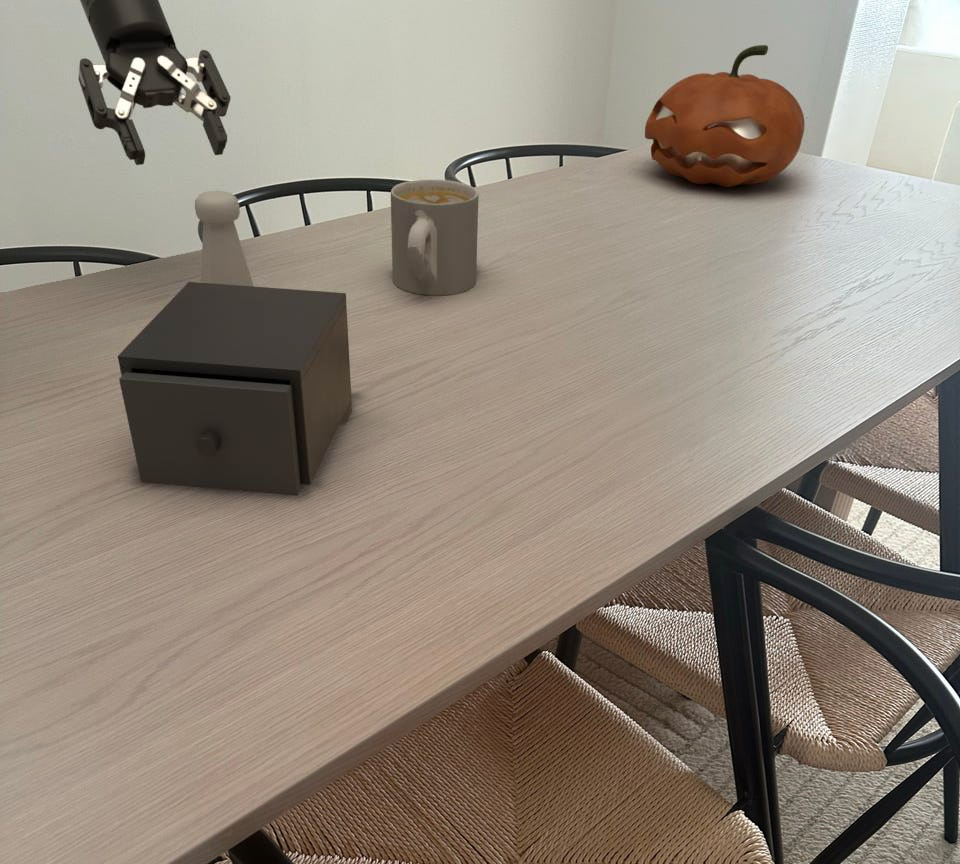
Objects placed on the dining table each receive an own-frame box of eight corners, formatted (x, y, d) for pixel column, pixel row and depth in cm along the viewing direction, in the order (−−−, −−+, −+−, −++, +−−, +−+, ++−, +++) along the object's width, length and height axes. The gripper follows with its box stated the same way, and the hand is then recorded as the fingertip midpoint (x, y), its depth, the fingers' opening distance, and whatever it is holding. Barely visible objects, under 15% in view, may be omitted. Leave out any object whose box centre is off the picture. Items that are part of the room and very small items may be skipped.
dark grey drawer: (293, 505, 76) (282, 399, 71) (135, 492, 77) (111, 385, 71) (338, 413, 88) (332, 316, 83) (201, 402, 89) (185, 305, 83)
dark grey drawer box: (311, 497, 79) (300, 370, 72) (143, 483, 80) (117, 355, 73) (352, 409, 91) (345, 292, 84) (206, 397, 92) (188, 281, 85)
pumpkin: (607, 176, 156) (621, 38, 144) (688, 150, 171) (708, 22, 159) (748, 211, 144) (777, 63, 132) (822, 179, 159) (854, 44, 147)
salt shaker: (198, 315, 107) (179, 188, 99) (249, 308, 109) (235, 183, 101) (213, 335, 103) (194, 204, 95) (266, 327, 105) (252, 198, 97)
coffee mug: (416, 261, 123) (415, 174, 116) (489, 274, 120) (492, 187, 113) (362, 295, 113) (358, 203, 107) (440, 311, 110) (441, 218, 104)
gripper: (183, 31, 109) (238, 168, 109) (51, 39, 102) (110, 185, 102) (194, -21, 102) (253, 125, 102) (53, -16, 96) (116, 140, 96)
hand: (181, 155), depth 102 cm, fingers open, 8 cm apart
